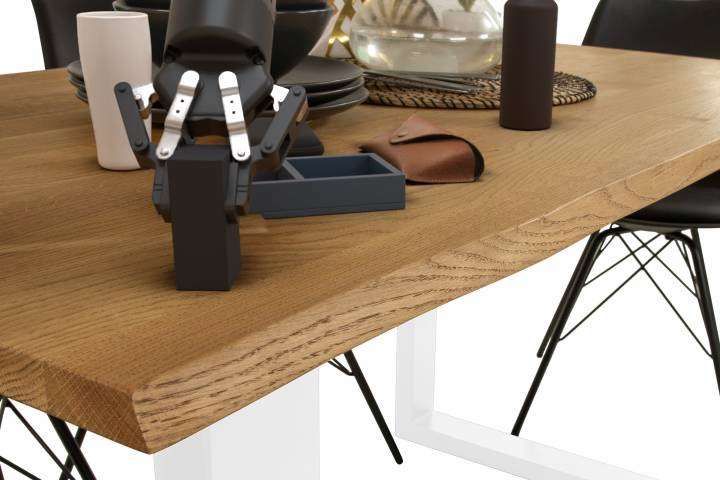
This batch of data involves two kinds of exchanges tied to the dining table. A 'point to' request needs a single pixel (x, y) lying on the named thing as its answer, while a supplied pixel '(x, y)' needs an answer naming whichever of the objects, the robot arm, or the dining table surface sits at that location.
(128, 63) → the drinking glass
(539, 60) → the bottle
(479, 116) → the dining table surface
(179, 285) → the black rectangular block
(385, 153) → the sunglasses case
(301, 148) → the carrying case
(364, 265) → the dining table surface
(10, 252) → the dining table surface
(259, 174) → the tray
